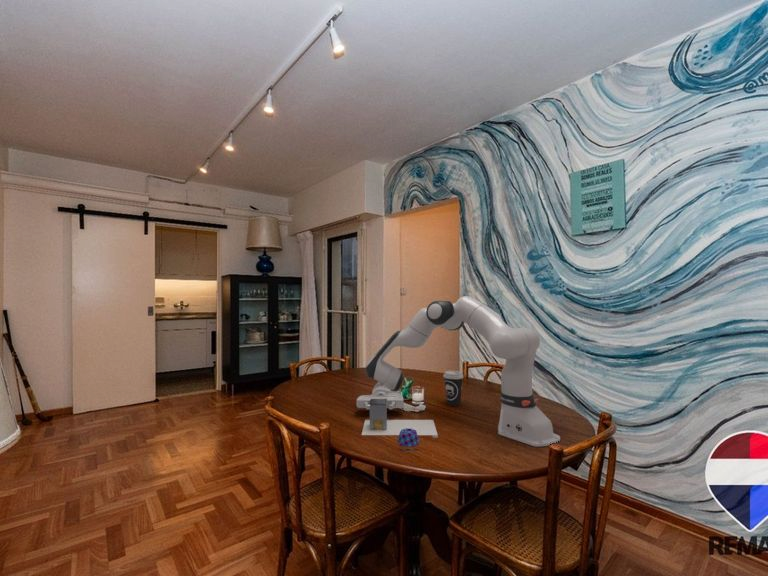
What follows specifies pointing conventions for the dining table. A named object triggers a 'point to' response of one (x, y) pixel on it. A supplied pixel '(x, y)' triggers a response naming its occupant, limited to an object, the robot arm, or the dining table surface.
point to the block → (378, 424)
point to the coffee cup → (453, 387)
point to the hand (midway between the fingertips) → (379, 407)
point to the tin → (378, 412)
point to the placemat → (403, 427)
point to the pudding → (408, 439)
